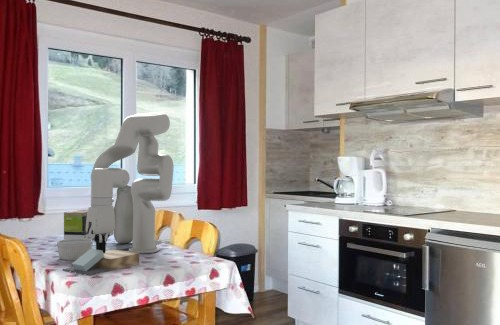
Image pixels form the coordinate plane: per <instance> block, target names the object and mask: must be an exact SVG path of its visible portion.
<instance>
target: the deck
mask: <svg viewBox="0 0 500 325" xmlns="http://www.w3.org/2000/svg"><path fill="white" fill-rule="evenodd" d="M103 254H104V257H103V258H102V259H101V260H99V261H98V262H97V263H96V264H95V265H93V266H94V267H100V268H105V269H111V271H114V270H119V269H123V268H128V267H132V266H136V265H139V264H140V253H135V252H129V250H128V251H127V250H121V249H120V250H119V249H114V248H113V249H108V250H106V252H105V253H103Z"/></svg>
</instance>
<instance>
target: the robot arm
mask: <svg viewBox="0 0 500 325" xmlns="http://www.w3.org/2000/svg"><path fill="white" fill-rule="evenodd" d="M170 122H171V121H170V117H169V116H168V115H167V114H166V113H163V112H149V113H148V112H147V113H146V112H145V113H137V114H136V113H135V114H134V115H130V116H129V115H128V116H127V117H126V118H124V120H123V121H122V124H121V126H120V129H119V132H118V134H117V136H116V139H115V141H114V143H113V144H112V145H111V146H109V147H108V148H107V149H105V150H104V151H103V152H102V153H101V154H100V155H99V156H98V157H97V159H96V160H95V163H94V164H93V167H92V169H91V173H90V206H88V208H87V210H88V212H87V218H86V233H88V238H93V239H92V240H94V241H93V242H95V243H96V244H95V249H96V250H102V251H103V253H105V252H106V251H107V250H106V248H107V242H108V239H109V238H110V237H111V236H114V230H115V213H114V205H113V203H114V202H115V200H114V198H113V197H114V195H113V192H114V189H118V188H122V187H125V186H126V185H128V184H129V182H130V178H131V177H130V173H129V172H128V171H127V170H126V169H125V168H121V167H110V166H111V165H112V164H114V163H116V162H118V161H120V160H124V159H125V158H128V157H130V156H132V155H134V153H135V152H136V151H137V149H138V154H137V161H136V163H137V164H136V170H137V173H138V175H142V176H144V177H143V178H137V179H135V180H134V181H133V182H131V185H130V186H131V194H132V200H133V240H132V242H131V243H132V246H131V247H129V248H128V252H135V253H139V254H152V253H157V252H159V247H157V246H159V245H162V244H163V242H162V240H161V239H159V240H157V239H156V209H155V207H154V204H153V203H152V202H153V201H154V202H164V201H165V202H166V201H168V200H169V199H170V198H171V195H172V191H173V190H172V189H173V179H174V160H173V158H172V157H171V155H168V154H165V153H164V154H162V153H159V147H160V146H159V142H158V140H157V138H156V136H159V135H162V134H165V133H166V132H168V130H169V129H170V125H171V123H170ZM145 176H148V177H151V176H152V177H159V178H145Z"/></svg>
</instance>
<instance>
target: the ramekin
mask: <svg viewBox="0 0 500 325" xmlns="http://www.w3.org/2000/svg"><path fill="white" fill-rule="evenodd" d="M93 240H94V239H65V240H64V239H60V240H58V241H57V244H56V246H57V249H58V251H57V252H58V257H59V258H60V259H61V260H62V261H76V260H77V259H78V258H80V257H81V256H82V255H83V254H85V253H86V252H87V251H88V250H90V249H93V248H92V246H93V244H94V241H93Z"/></svg>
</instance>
